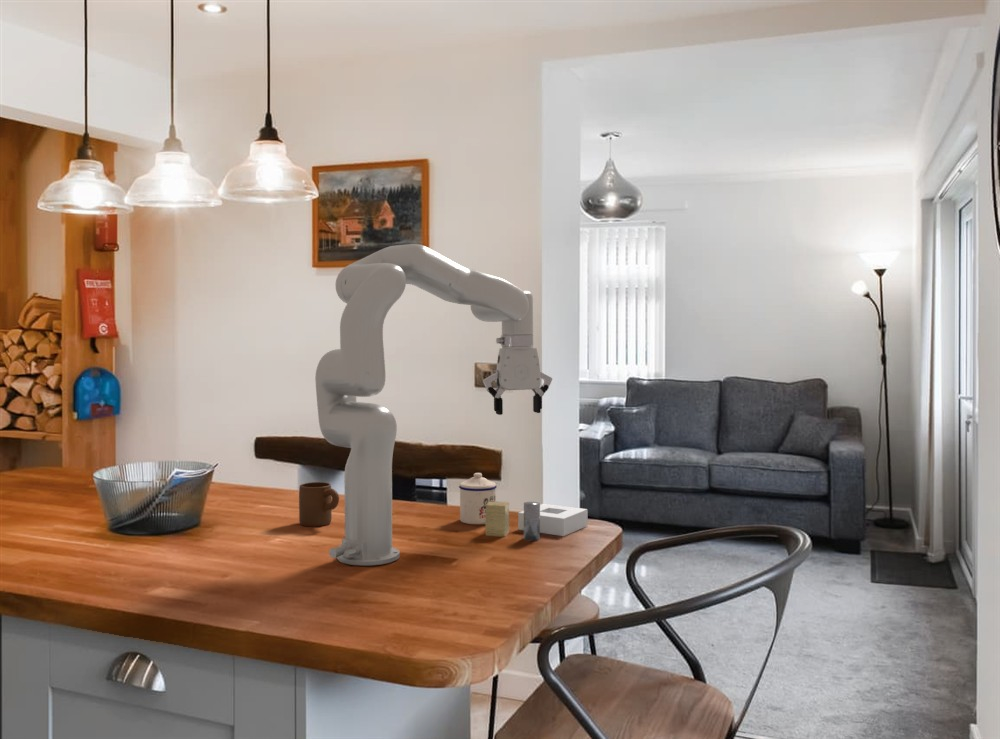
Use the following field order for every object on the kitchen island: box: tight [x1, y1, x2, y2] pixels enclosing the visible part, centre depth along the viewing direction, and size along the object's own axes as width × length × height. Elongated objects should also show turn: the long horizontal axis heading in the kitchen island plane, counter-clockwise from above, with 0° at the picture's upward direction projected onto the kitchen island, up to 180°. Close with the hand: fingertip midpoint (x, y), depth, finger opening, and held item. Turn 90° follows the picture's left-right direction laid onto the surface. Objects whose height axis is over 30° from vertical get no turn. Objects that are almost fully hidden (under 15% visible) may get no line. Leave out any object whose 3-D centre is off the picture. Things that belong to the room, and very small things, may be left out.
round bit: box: [523, 501, 541, 542], centre depth 193 cm, size 4×4×8 cm
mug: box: [298, 481, 340, 528], centre depth 206 cm, size 12×8×9 cm, turn 51°
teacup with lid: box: [458, 472, 497, 526], centre depth 212 cm, size 12×9×12 cm
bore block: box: [517, 503, 589, 537], centre depth 204 cm, size 12×12×4 cm
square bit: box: [485, 501, 510, 538], centre depth 198 cm, size 4×4×7 cm
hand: (518, 413), depth 209 cm, fingers open, 9 cm apart
